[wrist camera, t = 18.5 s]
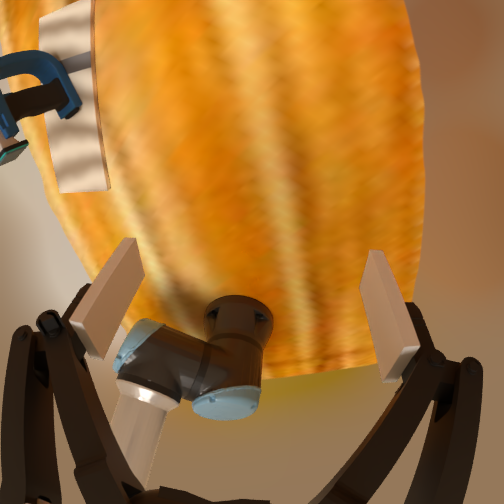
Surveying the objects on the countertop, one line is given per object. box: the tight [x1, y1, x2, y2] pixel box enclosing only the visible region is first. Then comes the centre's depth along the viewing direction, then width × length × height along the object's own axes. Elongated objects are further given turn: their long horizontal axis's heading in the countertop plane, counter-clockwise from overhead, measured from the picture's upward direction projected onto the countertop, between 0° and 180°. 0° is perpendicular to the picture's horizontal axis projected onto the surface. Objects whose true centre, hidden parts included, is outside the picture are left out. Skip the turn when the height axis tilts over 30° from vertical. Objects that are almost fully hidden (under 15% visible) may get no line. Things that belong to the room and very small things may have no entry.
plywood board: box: [39, 0, 111, 193], centre depth 39 cm, size 36×12×1 cm, turn 0°
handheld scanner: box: [0, 50, 82, 166], centre depth 29 cm, size 5×16×20 cm, turn 24°
